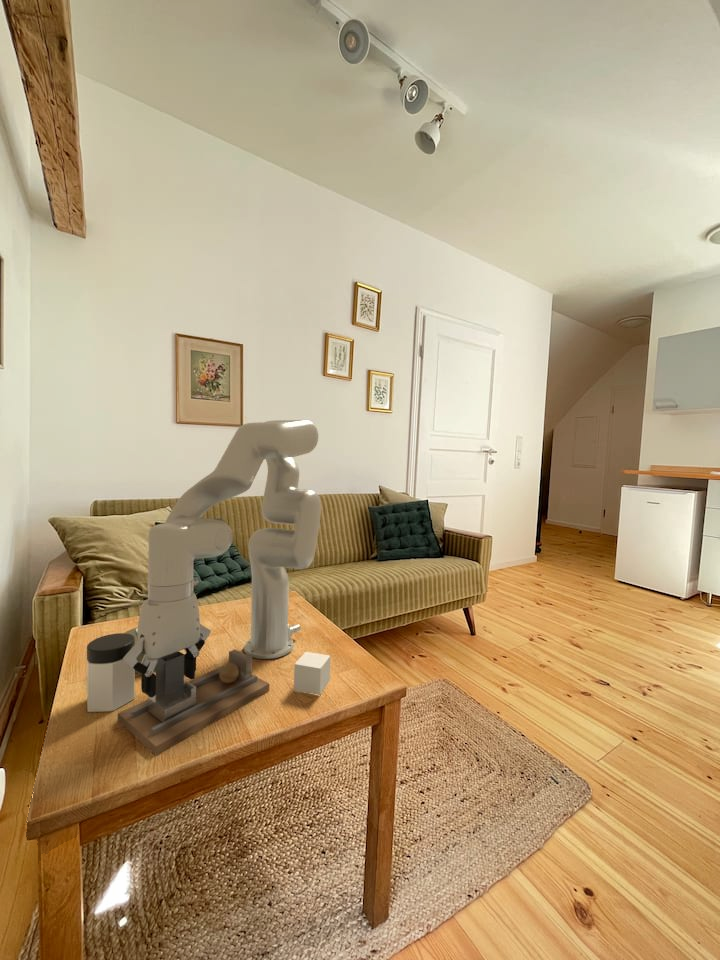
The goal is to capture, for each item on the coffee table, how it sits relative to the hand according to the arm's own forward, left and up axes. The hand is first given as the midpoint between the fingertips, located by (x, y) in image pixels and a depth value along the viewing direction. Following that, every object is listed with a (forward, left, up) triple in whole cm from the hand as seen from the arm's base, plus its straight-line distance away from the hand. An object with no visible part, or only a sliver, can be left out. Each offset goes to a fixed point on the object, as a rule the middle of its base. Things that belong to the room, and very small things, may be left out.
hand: (169, 684), depth 73 cm
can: (-8, -25, -7) cm, 27 cm away
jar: (+4, -15, -7) cm, 17 cm away
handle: (-1, 0, -5) cm, 5 cm away
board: (-6, 0, -7) cm, 9 cm away
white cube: (-25, +13, -7) cm, 29 cm away
